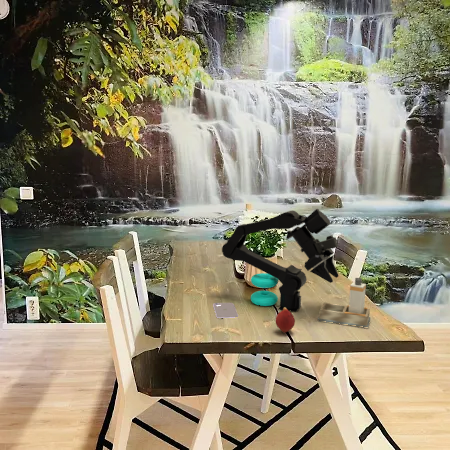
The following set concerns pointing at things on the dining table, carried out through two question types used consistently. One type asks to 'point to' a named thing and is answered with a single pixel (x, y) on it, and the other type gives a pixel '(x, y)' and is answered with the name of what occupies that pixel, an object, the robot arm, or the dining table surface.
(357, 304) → the bottle
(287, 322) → the onion
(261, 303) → the donuts
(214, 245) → the dining table surface
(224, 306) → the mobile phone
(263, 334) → the dining table surface
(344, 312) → the rack
